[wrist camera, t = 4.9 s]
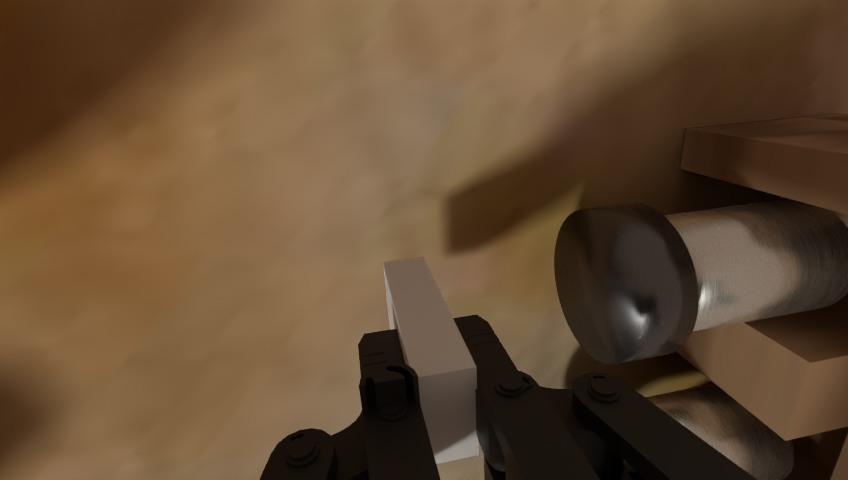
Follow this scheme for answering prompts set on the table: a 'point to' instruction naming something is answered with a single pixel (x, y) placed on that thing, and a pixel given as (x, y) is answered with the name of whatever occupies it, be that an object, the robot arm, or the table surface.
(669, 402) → the knob
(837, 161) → the wooden rack
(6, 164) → the table surface
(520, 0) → the table surface
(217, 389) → the table surface
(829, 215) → the knob
